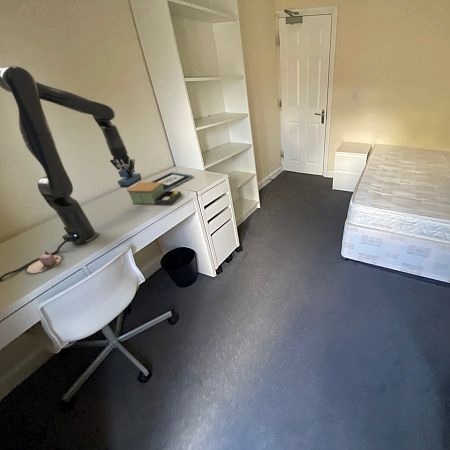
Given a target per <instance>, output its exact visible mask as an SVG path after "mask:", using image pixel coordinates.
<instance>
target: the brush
mask: <svg viewBox="0 0 450 450" xmlns="http://www.w3.org/2000/svg"><path fill="white" fill-rule="evenodd" d="M117 173H118V175H119V177H120V178H121V179H119V180H117V184H118V186H119V187H120V188H125V189H126V188H129V189H130V188H131V187H133V186H134V185H136V184H138V183H139V182H141V181H142V180H143V179H142V175H141V173H140V172H139V173H137V172H136V171H135V168H134V169H132V173H133V176H132V177H129V175H128V172H127V170H126V168H124V169H122V170H117Z"/></svg>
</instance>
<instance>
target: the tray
mask: <svg viewBox="0 0 450 450" xmlns="http://www.w3.org/2000/svg"><path fill="white" fill-rule="evenodd" d="M174 191H175V190H168V191H165V192H164V193H163V194H162V195H160V196H159V197H158V198H157V199H155V200H154V201H155V203H156V204H155V205H156V206H157V205H158V206H159V205H160V206H172V205H173V204H174V203H175V202H176V201H177V200H179V199H180V198H181V197H182V193H181V191H180V190H177V191H178V193H177V194H176V195H175V196H174V197H171V195H172V193H173V192H174ZM164 197H170V198H171V199H170V200H162V199H163V198H164Z"/></svg>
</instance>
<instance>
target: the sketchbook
mask: <svg viewBox="0 0 450 450" xmlns="http://www.w3.org/2000/svg"><path fill="white" fill-rule="evenodd" d="M193 177H194V176H193V175H191V174H188V173H181V172H176V171H171V172H168V173H167V174H165V175H163V176H161V177H158V178H156V179H154V180H152V181H151V182H160V183H163V184H162V186H163V189H164V191H171V189H173V188H176V187H177V186H179V185H181V184H183V183H185V182H187V181H189V180H190V179H192V178H193Z"/></svg>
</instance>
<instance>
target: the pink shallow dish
mask: <svg viewBox="0 0 450 450" xmlns="http://www.w3.org/2000/svg"><path fill="white" fill-rule="evenodd" d="M37 258H38V259H39V260H37V261H35V262H34V263H32V264H30V265H28V266H27V270H26V272H27V273H28V274H32V275H33V274H40V273H44V272H46V271H49V270H51V269H53V268H55V267H56V266H57V265H59V263H61V261H62V256H60V255H58V254H57V255H56V254H53V255H52V254H51V253H49V252H47V251H44V254H42V255H41V256H39V257H37Z"/></svg>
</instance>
